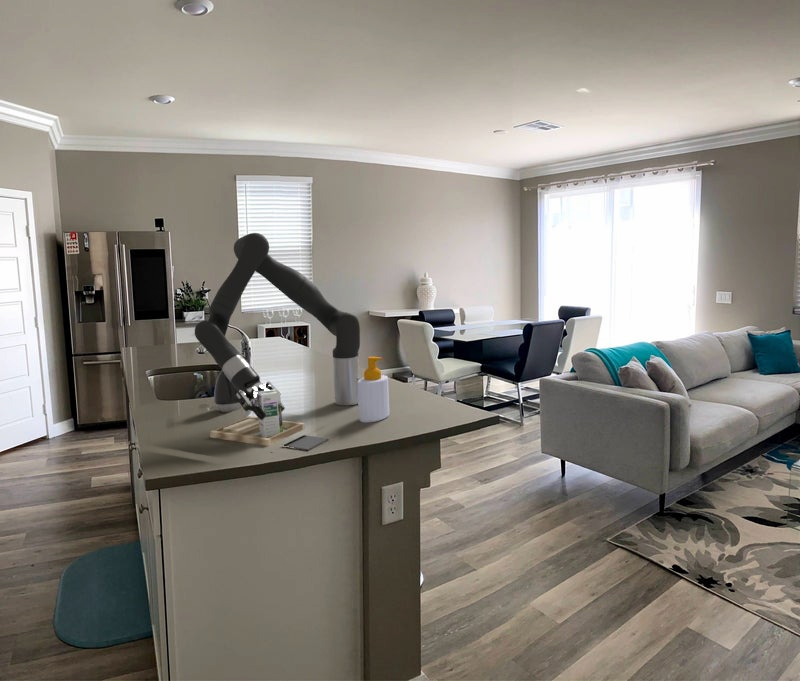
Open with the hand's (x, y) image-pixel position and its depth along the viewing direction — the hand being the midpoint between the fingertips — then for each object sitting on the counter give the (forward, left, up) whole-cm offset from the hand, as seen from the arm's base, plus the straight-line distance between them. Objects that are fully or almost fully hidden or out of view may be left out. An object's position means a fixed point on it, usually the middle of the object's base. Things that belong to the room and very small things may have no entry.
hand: (273, 414), depth 171 cm
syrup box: (+1, -1, -8) cm, 8 cm away
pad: (-9, +6, -8) cm, 13 cm away
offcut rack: (+5, -4, -8) cm, 10 cm away
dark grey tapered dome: (+19, -38, -8) cm, 43 cm away
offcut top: (+10, -7, -6) cm, 13 cm away
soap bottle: (-31, -16, -8) cm, 36 cm away
